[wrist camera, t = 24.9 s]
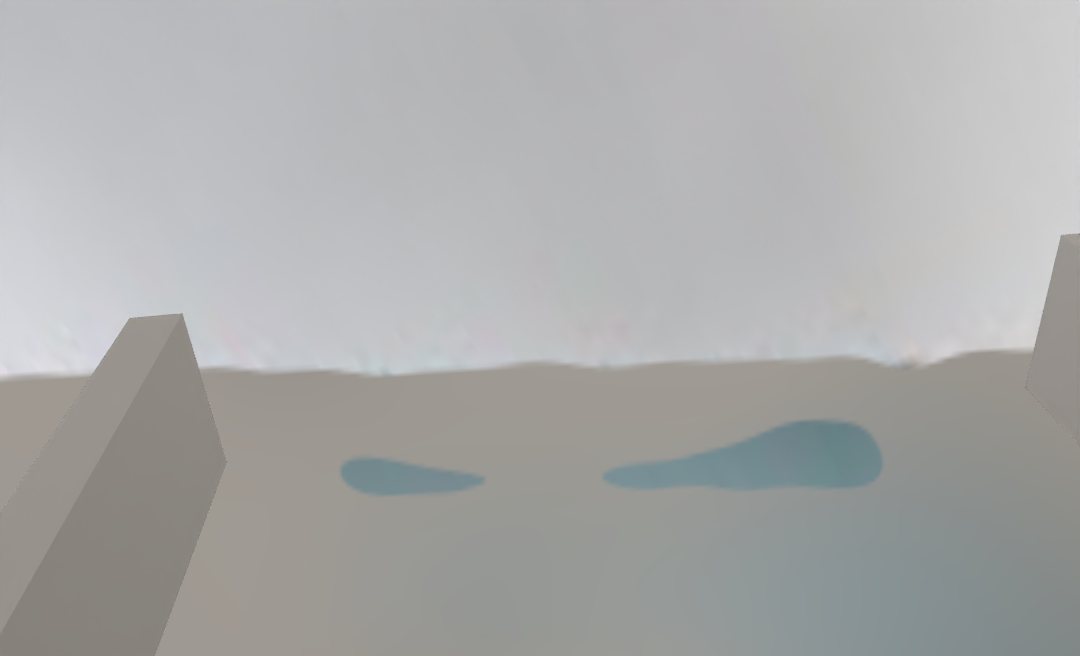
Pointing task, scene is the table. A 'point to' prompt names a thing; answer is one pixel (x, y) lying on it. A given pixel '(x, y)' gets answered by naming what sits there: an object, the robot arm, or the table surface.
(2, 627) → the robot arm
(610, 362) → the table surface
